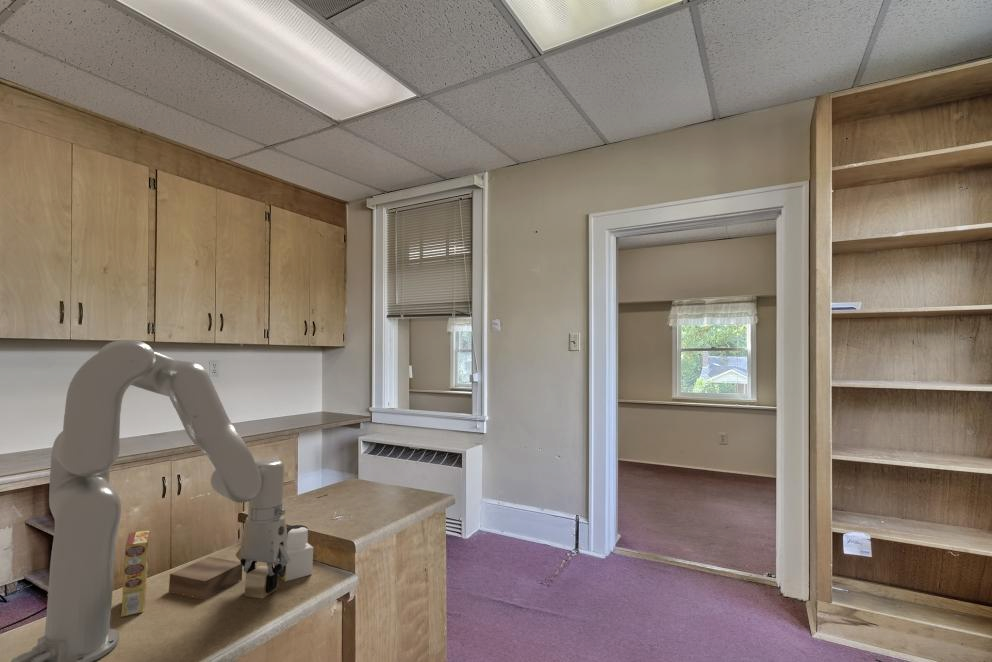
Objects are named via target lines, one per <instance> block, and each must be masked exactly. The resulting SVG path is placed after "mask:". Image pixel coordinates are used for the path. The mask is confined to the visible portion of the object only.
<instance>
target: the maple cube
mask: <svg viewBox="0 0 992 662" xmlns="http://www.w3.org/2000/svg"><path fill="white" fill-rule="evenodd" d="M273 568H274V566H273ZM268 575H269V573H268V567H267V565H266V566H265V565H259V566H256V567H255V569H254V570H252V571H250V572H248V573H247V574H246V573H245V577H244V580H245V583H244V596H245V597H252V598H257V599H264V598H266V597H268V596H269V595H270V594H272V593H273V592H275V591H276V590H277V589H278V586H277V587H276V588H275V589H274V590H272V591H271V592H269V593H266V577H267V576H268Z"/></svg>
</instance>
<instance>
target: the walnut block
mask: <svg viewBox="0 0 992 662" xmlns="http://www.w3.org/2000/svg"><path fill="white" fill-rule="evenodd" d="M243 568H244V567H243V565H242V564H241V561H240V562H239V561H235V560H229V559H225V558H224V559H223V558H219V557H214V556H213V557H212V556H207V557H206V558H202V559H200V560H198V561H197V562H194V563H192V564H189V565H187V566H185V567H182V568H181V569H178V570H176V571H174V572H172V573H171V572H170V573H169V581H168V582H169V583H168V592H169V593H172V592H173V593H174V594H177V593H179V594H178V595H181V594H184V595H183V596H186V595H187V596H186V597H190V596H193V597H192V598H195V597H196V598H195V599H199V598H202V599H201V600H204V599H205V600H207V599H208V598H210V597H212V596H214V595H216V594H218V593H220V592H222V591H223V590H225V589H227V588H229V587H231V586H232V584H233V585H234V583H235V584H236V583H238V582H240V581H242V580H243ZM239 580H240V581H239ZM237 581H238V582H237ZM230 585H231V586H230ZM228 586H229V587H228ZM226 587H227V588H226ZM219 591H220V592H219ZM217 592H218V593H217ZM173 593H172V594H173ZM215 593H216V594H215ZM213 594H214V595H213ZM211 595H212V596H211ZM209 596H210V597H209Z"/></svg>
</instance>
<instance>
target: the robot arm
mask: <svg viewBox="0 0 992 662" xmlns="http://www.w3.org/2000/svg"><path fill="white" fill-rule="evenodd" d="M130 386H133V387H136V388H139V389H142V390H146V391H148V392H151V393H155V394H160V395H163V396H165V397H168V398H169V400H170V402H171V404H172V406H173V408H174V409H175V411H176V414H177V415H178V417H179V420H180V422H181V425H182V426H183V429H184V431H185V432H186V434H187V436H188V438H189V439H190V441H191V442H192V443H193V444H194V445H195V446H196V447H197V448H198V449H199V450H200V451H201V452H202V453H203V454H204V455H205V456H206V457H207V458H208V459H209V461H210V462H211V464H212V465H213V467H214V468H215V469H214V471H213V473H212V474H211V477H210V485H211V487H212V489H213V491H215V492H216V493H217V494H218V495H221V496H223V497H224V498H227V499H228V500H230V501H232V502H234V503H239V504H240V503H241V504H243V503H246V502H248V507H247V509H248V510H247V517H246V519H245V521H244V526H243V529H242V535H241V543H240V548H239V549H238V551H237V552H236V553H235V557H236V558H237V560H239V561H240V562H241V564H242V565H243V567H242V568H243V571H244V572H245V575H246V574H247V573H248V572H250V571H252V570H254V569H255V568H257V563H258V562H259V563H264V564H266V566H267V567H268V573H269V575H268V576H267V577H266V593H269V592H271V591H272V590H274V589H275V588H276V587H277V588H278V577H279V575H278V572H279V571H280V570H281V569H282V568H283V567H284V566H285V565H286V564H288V563H289V562H290V558H289V556H288V554H287V528H288V527H287V522H286V517H285V516H284V515H286V510H285V509H284V508H283V499H284V497H283V496H284V495H283V494H284V477H285V465H284V462H283V461H281V460H279V459H273V458H272V459H262V460H258V461H255V459H254V457H253V455H252V453H251V450H250V449H249V448H248V447H249V446H247V444H246V442H245V441H244V439H243V438H242V436H241V435H240V433H239V432H238V430H237V429H236V427H235V425H234V424H233V422H232V421H231V420H230V418H229V416H228V414H227V412H226V409H225V407H224V406H223V404H222V401H221V398H220V397H219V395H218V392H217V389H216V387H215V386H214V383H213V382H212V379H211V376H210V375H209V373H208V372H207V370H206V368H204V367H203V366H202V364H199V363H196V362H194V361H185V360H184V361H183V360H179V359H177V358H176V359H175V358H172V357H170V356H167V355H164V354H161V353H159V352H156V351H154V349H153V348H152V347H151V346H150V345H149V344H147V343H145V342H143V341H141V340H136V339H122V340H115V341H111V342H108V343H107V344H105V345H104V346H103V347H102V348H100V350H98V352H97V353H96V354H95V355H92V357H91V358H89V359H88V360H87V361H86V362H84V363H83V364H82V366H80V368H79V369H78V370H77V371H76V372H75V374H74V375H73V377H72V379H71V381H70V383H69V385H68V388H67V392H66V398H65V407H64V414H63V415H64V416H63V427H62V431H61V432H60V433H59V434H58V435H57V436H56V438H55V439H54V442H53V444H52V447H51V448H52V450H51V454H50V470H49V472H50V473H49V488H48V489H49V491H48V492H49V493H48V494H49V495H48V503H49V506H48V507H49V509H50V513H51V514H52V518H53V519H54V532H53V540H52V549H51V555H50V563H49V580H48V581H49V582H48V591H47V594H48V595H47V603H46V604H47V605H46V618H45V629H44V635H43V636H41V637H39V638H38V639H37V643H36V645H35V646H33V647H32V649H31V650H29V651H27V652H24V653H21V654H19V655H18V656H16V657H14V658H12V659H11V661H10V662H94V661H96V660H98V659H100V658H102V657H104V656H105V655H107V654H108V653H109V652H111V651H112V650H114V648H116V647H117V645H118V643H119V641H120V633H119V632H118V631H117V630H116V629H114V628H111V616H112V614H111V613H112V602H113V588H114V577H115V576H114V575H115V560H116V558H115V557H116V547H117V539H118V538H117V537H118V532H119V526H120V521H121V517H122V516H121V515H122V504H121V503H122V502H121V499H120V496H119V494H118V492H117V491H116V490H115V489H114V487H112V486H111V484H110V471H111V468H112V467H113V466H114V465H115V463H116V462H117V460H118V457H119V455H120V450H121V449H120V448H121V447H120V446H121V445H120V444H121V443H120V431H121V428H120V426H121V412H122V403H123V399H124V395H125V394H126V391H127V390H128V389H129V388H130ZM278 557H280V559H281V562H280V563H279V558H278ZM273 567H274V568H273Z"/></svg>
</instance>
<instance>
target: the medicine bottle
mask: <svg viewBox="0 0 992 662" xmlns="http://www.w3.org/2000/svg"><path fill="white" fill-rule="evenodd" d="M286 528H287V554H288V556H289V558H290V562H289V563H288V564H286V565H285V566H284V567H283V568H282V569H281V570H280V571H279V572H278V577H279V578H281V580H282V581H284V582H290V581H293V580H297V579H300V578H304V577H307V576H310V575H312V574H313V562H314V559H313V558H314V546H312V544H309V543H308V539H309V528H308V526H305V525H303V524H296V525H295V524H294V525H291V526H288V527H286ZM278 558H279V563H280V562H281V559H280V557H278Z"/></svg>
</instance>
